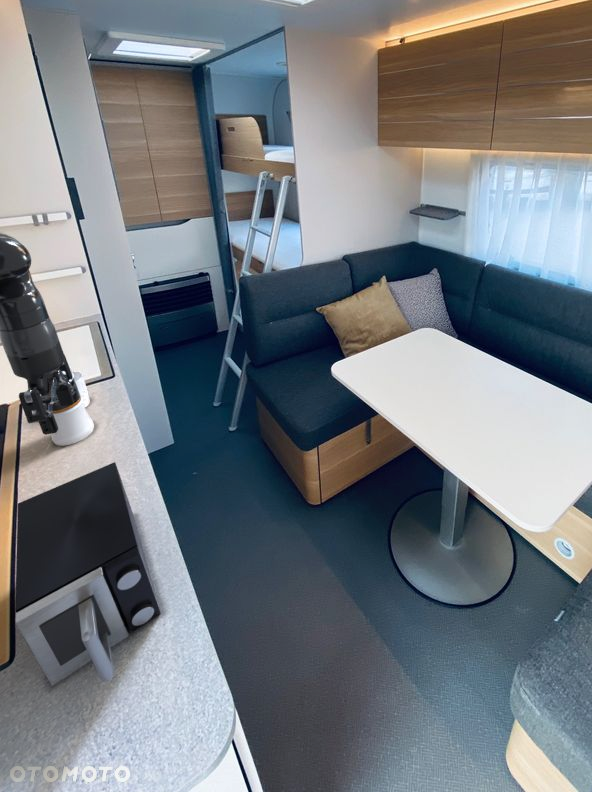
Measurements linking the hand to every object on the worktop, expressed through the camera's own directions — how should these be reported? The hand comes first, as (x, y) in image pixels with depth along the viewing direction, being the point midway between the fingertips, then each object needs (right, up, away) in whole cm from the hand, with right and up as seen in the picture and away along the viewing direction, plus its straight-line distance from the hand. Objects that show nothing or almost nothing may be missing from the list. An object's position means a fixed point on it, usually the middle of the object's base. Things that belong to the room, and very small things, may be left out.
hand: (60, 417), depth 79 cm
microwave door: (+18, -34, -17) cm, 42 cm away
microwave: (+12, -29, -5) cm, 32 cm away
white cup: (-28, -10, +43) cm, 52 cm away
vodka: (-20, -15, +32) cm, 40 cm away
